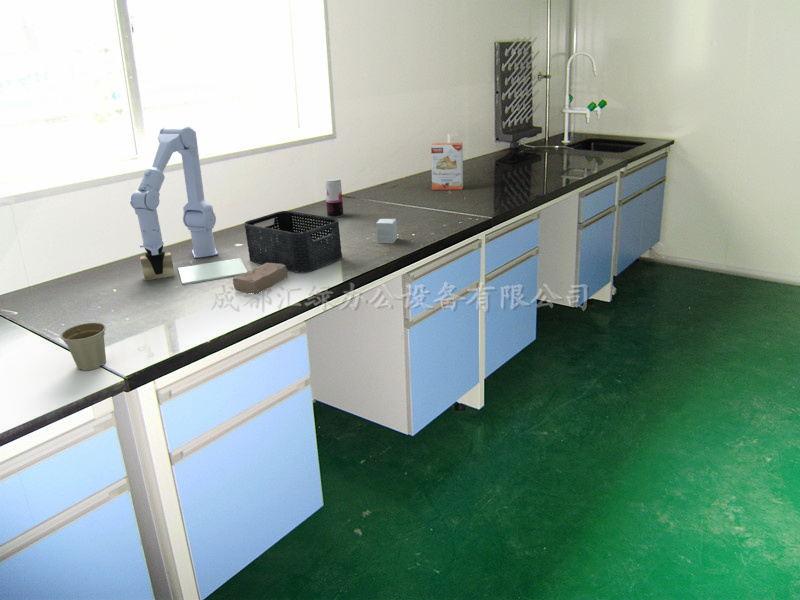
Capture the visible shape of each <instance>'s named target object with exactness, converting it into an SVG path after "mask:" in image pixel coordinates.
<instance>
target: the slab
mask: <svg viewBox="0 0 800 600" xmlns="http://www.w3.org/2000/svg"><path fill="white" fill-rule="evenodd" d="M140 263H141V268H142V273H143V277H144V281H151V280H156V278H157V279H161V278H162V277H163V278H168V277H175V276H176V274H175V268H174V264H173V258H172V254H171V252H165V255H164V258H163V274H158V275H156V274H155V272H154V270H153V267H152V265H151V263H150V261H149V260H148V259H147V257H146V255H142V256H140Z"/></svg>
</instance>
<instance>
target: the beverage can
mask: <svg viewBox="0 0 800 600" xmlns="http://www.w3.org/2000/svg"><path fill="white" fill-rule="evenodd" d="M324 192H325V193H324V194H325V203H326V213H327V217H336V218H340V217H343V216H344V205H343V204H344V203H343V194H342V193H343V192H342V181H341V178H340V177H328V178H325V179H324ZM342 215H343V216H342Z"/></svg>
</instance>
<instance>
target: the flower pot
mask: <svg viewBox="0 0 800 600" xmlns="http://www.w3.org/2000/svg"><path fill="white" fill-rule="evenodd" d="M106 329H107V328H106V325H105V324H104V323H100V322H86V323H81V324H77V325H74V326H73V325H72V326H71V327H68V328H66V329H65V330H63V331H62V332H61V333H60V339H61V340H62V341H63V342H64V344H65V345H66V346H67V348H68V350H69V352H70V354H71V356H72V359H73V361H74V363H75V365H76V368H77V370H83V371H91V370H92V371H93V370H95V369H99V368H100V367H101V366H102V365H105V364H106V362H107V357H106V355H107V354H106V345H105V334H106V332H105V331H106Z"/></svg>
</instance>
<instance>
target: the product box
mask: <svg viewBox="0 0 800 600" xmlns="http://www.w3.org/2000/svg"><path fill="white" fill-rule="evenodd" d="M375 225H376V227H375V228H376V243H377V244H395V242H396V240H397V239H398V233H397V232H398V231H397V230H398V229H397V218H379V219H378V220H377V222H376V223H375Z"/></svg>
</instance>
